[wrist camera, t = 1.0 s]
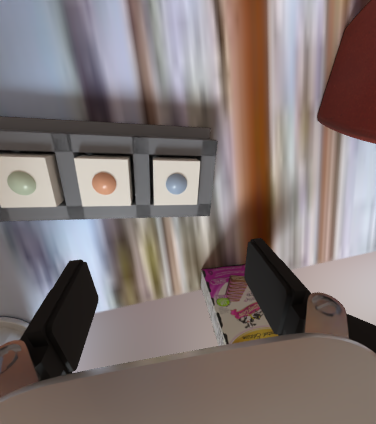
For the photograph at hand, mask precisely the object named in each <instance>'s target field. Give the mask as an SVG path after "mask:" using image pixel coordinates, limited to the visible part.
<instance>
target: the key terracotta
mask: <svg viewBox="0 0 376 424" xmlns="http://www.w3.org/2000/svg"><path fill="white" fill-rule="evenodd" d="M74 162H75V168H76V174H77V179H78V185H79V190H80V196H81V201H82V207H83V206H131V204H132V200H133V190H132V175H131V160H130V156H109V155H80V156H78V157H76V158H74Z"/></svg>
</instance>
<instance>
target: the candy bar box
mask: <svg viewBox="0 0 376 424" xmlns="http://www.w3.org/2000/svg"><path fill="white" fill-rule="evenodd" d="M245 265H246V264H244V265H236V266H227V267H219V268H209V269H202V278H201V288H202V291H203V294H204V298H205V301H206V305H207V308H208V312H209V315H210V318H211V321H212V325H213V328H214V332H215V335H216V339H217V342H218V345H219V346H222V345H227V344H233V343H239V342H244V341H250V340H256V339H262V338H268V337H275V336H278V334H277V335H276V334H274V332H273V331H272V329H271V327H270V325H269V323H268V322H267V320H266V318H265V316H264V314H263V312H262V311H261V309H260V307H259V305H258V303H257V301H256V300H255V298H254V296H253V294H252V292H251V290H250V289H249V287H248V285H247V283H246V281H245V278H244V274H245Z"/></svg>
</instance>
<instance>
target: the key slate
mask: <svg viewBox="0 0 376 424" xmlns="http://www.w3.org/2000/svg"><path fill="white" fill-rule="evenodd" d="M199 172H200V161H199V160H198V159H196V158H181V157H153V187H154V205H197V199H198V186H199Z"/></svg>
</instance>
